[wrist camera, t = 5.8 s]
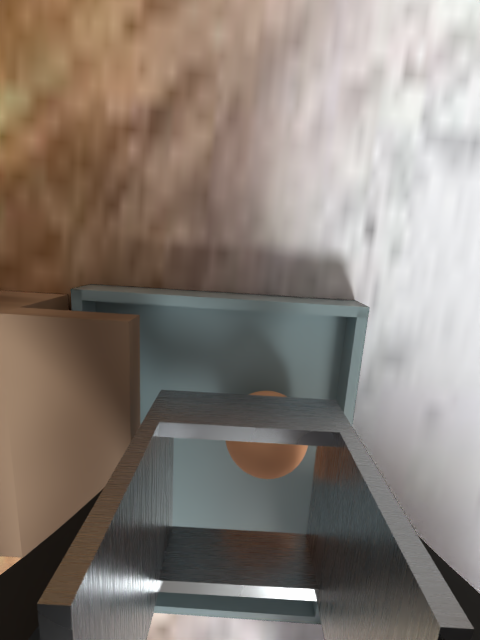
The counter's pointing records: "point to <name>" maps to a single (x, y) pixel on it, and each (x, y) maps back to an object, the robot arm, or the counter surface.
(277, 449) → the ball
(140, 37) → the counter surface
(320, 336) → the tray
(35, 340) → the stand
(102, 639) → the sleeve
